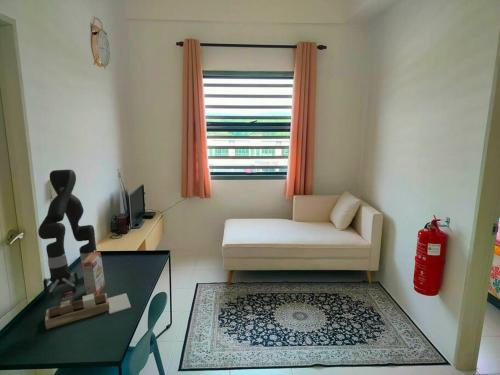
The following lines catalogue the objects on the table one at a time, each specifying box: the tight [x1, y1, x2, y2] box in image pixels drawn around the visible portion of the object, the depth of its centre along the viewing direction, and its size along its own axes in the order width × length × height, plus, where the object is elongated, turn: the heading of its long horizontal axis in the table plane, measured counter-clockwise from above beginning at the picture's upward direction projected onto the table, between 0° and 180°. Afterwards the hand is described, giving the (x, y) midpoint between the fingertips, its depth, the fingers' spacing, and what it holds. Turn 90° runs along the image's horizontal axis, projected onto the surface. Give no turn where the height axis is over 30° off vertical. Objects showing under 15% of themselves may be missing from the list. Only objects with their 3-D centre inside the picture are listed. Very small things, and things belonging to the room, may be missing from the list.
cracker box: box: [81, 251, 106, 296], centre depth 172 cm, size 14×6×21 cm, turn 8°
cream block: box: [82, 293, 97, 309], centre depth 155 cm, size 6×5×7 cm
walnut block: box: [58, 300, 74, 316], centre depth 151 cm, size 6×5×7 cm
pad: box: [108, 292, 132, 315], centre depth 160 cm, size 16×10×1 cm, turn 30°
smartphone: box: [57, 288, 78, 306], centre depth 170 cm, size 7×1×15 cm
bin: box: [44, 292, 110, 330], centre depth 153 cm, size 12×27×4 cm, turn 120°
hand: (63, 295), depth 149 cm, fingers open, 8 cm apart
